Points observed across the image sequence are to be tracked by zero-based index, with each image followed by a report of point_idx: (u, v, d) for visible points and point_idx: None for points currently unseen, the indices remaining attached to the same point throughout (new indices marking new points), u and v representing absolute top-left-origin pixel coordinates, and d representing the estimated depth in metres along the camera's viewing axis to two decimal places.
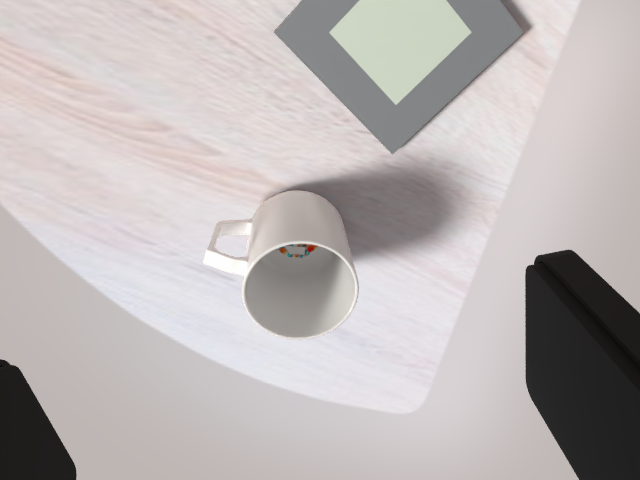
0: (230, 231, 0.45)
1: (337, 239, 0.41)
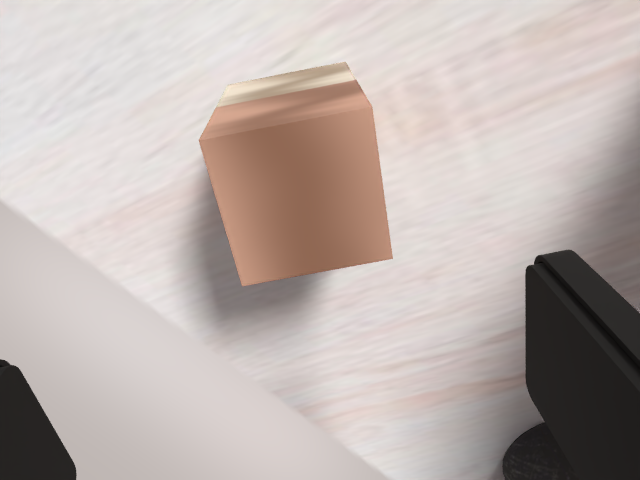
0: None
1: None
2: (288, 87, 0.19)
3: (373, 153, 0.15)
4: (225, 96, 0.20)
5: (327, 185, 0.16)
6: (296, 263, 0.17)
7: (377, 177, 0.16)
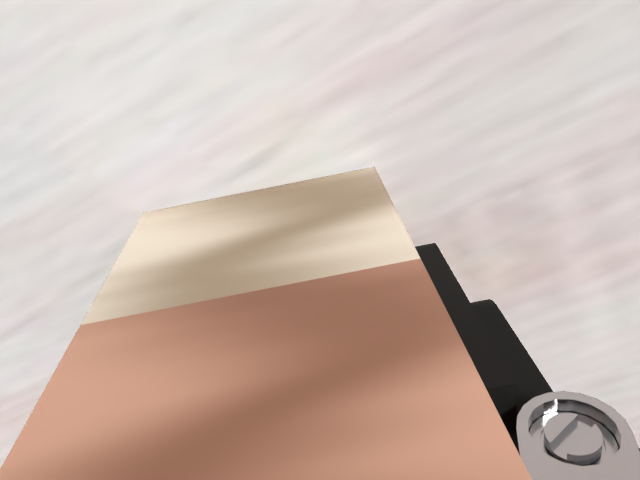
0: None
1: None
2: (258, 258, 0.08)
3: None
4: (121, 267, 0.09)
5: None
6: None
7: None
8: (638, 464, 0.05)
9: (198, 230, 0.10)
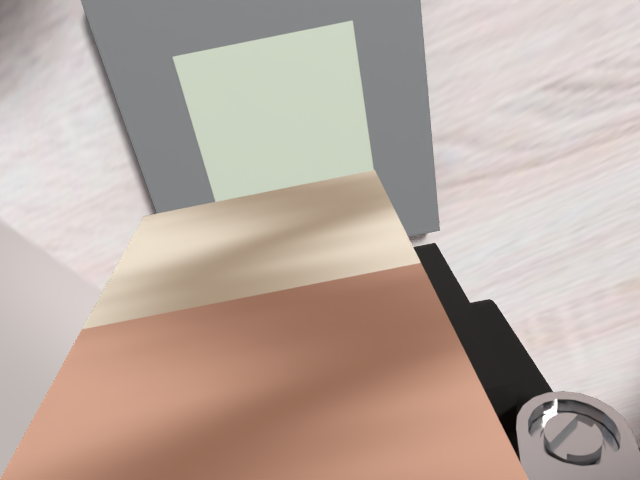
0: None
1: None
2: (259, 262, 0.08)
3: None
4: (122, 271, 0.09)
5: None
6: None
7: None
8: (638, 464, 0.05)
9: (199, 233, 0.10)
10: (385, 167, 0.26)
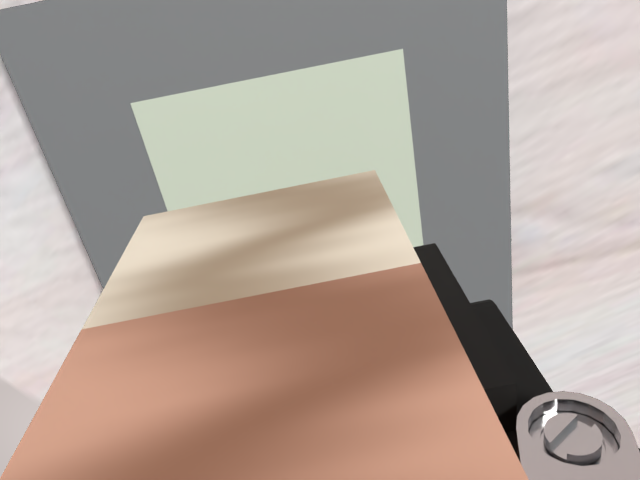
0: None
1: None
2: (258, 262, 0.08)
3: None
4: (121, 271, 0.09)
5: None
6: None
7: None
8: (638, 464, 0.05)
9: (199, 233, 0.10)
10: None
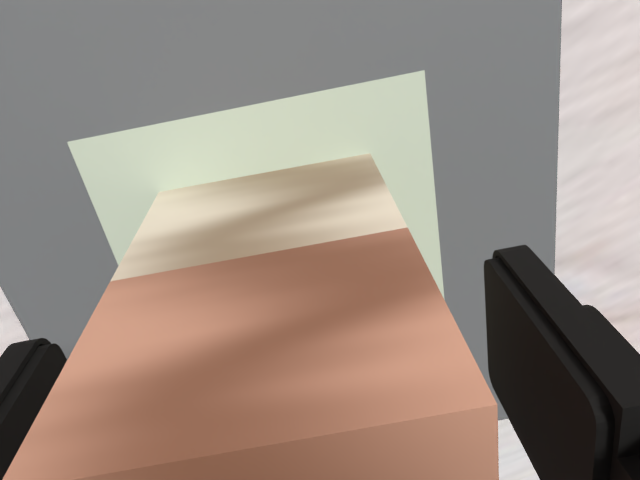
0: None
1: None
2: (265, 228, 0.10)
3: None
4: (142, 236, 0.10)
5: None
6: None
7: None
8: None
9: (210, 206, 0.11)
10: (467, 320, 0.15)
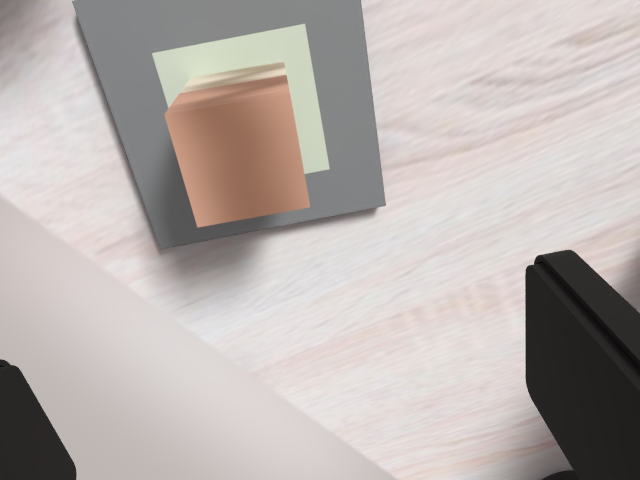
0: None
1: None
2: (236, 79, 0.25)
3: (292, 127, 0.21)
4: (187, 86, 0.26)
5: (259, 150, 0.22)
6: (238, 209, 0.23)
7: (296, 144, 0.22)
8: None
9: (214, 78, 0.26)
10: (336, 149, 0.30)
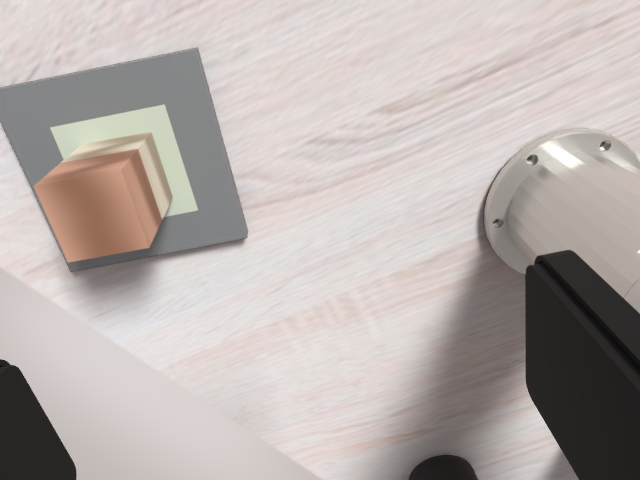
0: None
1: None
2: (104, 151, 0.34)
3: (127, 193, 0.30)
4: (71, 154, 0.34)
5: (105, 209, 0.30)
6: (96, 250, 0.32)
7: (131, 205, 0.30)
8: None
9: (94, 147, 0.35)
10: (201, 195, 0.39)
